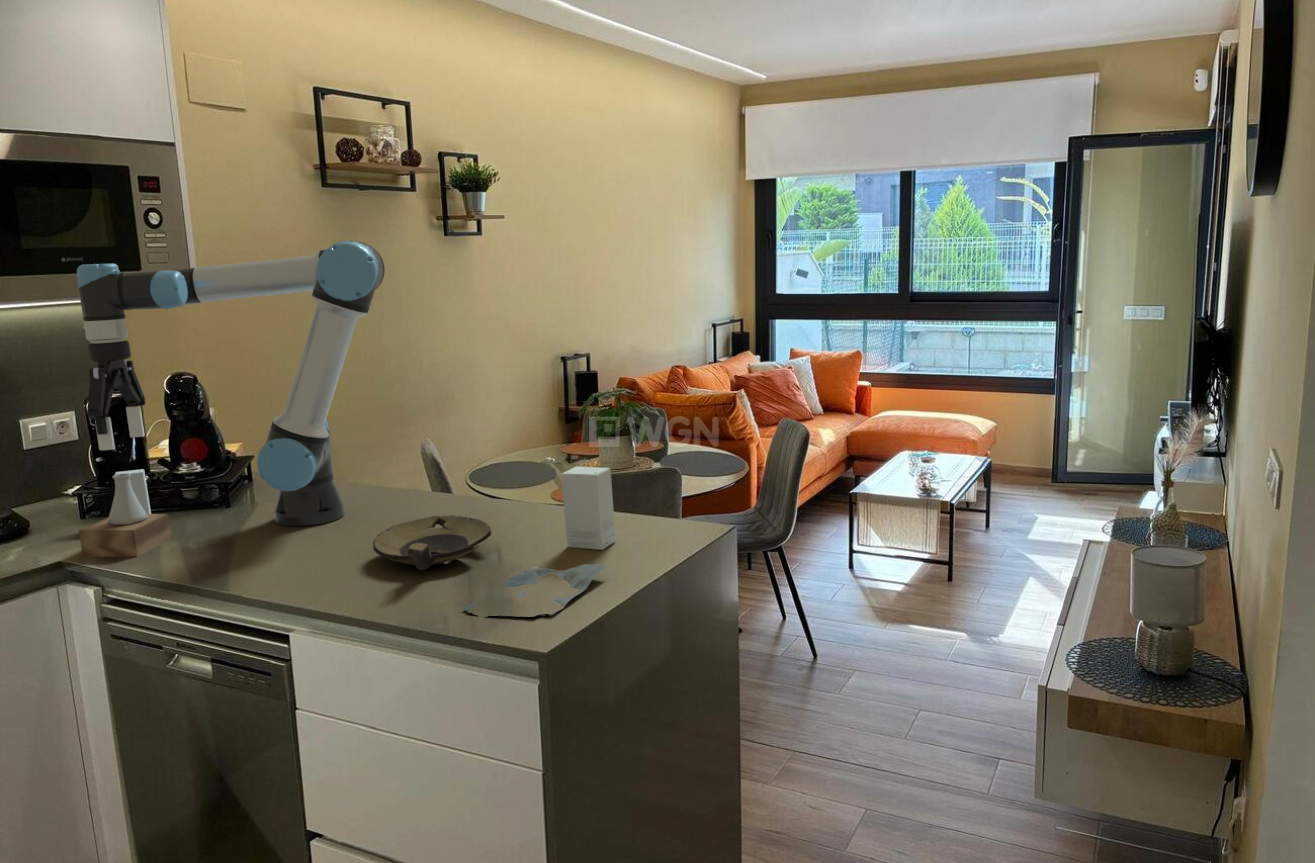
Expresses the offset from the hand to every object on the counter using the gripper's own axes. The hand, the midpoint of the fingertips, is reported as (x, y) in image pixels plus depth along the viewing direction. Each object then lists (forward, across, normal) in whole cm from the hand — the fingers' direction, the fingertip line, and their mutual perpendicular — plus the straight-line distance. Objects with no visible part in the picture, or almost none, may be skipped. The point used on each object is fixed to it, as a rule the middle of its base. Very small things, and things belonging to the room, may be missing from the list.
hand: (122, 443), depth 205 cm
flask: (+17, +1, -1) cm, 17 cm away
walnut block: (+22, +1, -2) cm, 23 cm away
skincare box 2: (+23, +16, +96) cm, 100 cm away
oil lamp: (+23, +21, +64) cm, 71 cm away
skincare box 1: (+22, -19, -8) cm, 31 cm away
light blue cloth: (+24, +43, +86) cm, 99 cm away
